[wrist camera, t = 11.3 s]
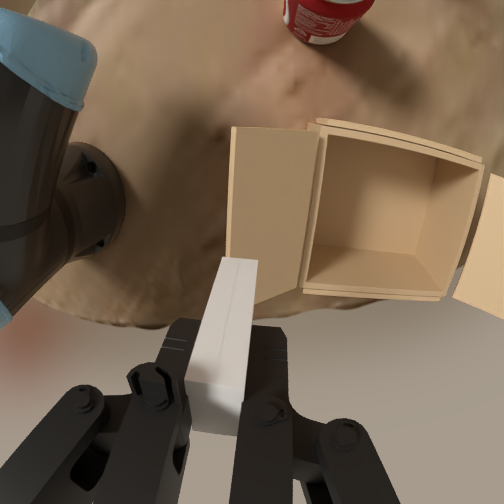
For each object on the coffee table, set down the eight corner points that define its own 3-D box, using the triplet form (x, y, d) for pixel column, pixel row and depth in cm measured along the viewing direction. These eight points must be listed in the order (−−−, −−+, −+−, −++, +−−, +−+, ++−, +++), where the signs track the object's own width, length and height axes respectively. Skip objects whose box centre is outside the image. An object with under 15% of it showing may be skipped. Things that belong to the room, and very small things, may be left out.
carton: (292, 250, 35) (297, 293, 27) (308, 116, 28) (321, 117, 20) (413, 262, 34) (442, 302, 26) (440, 144, 27) (485, 159, 19)
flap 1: (236, 127, 16) (231, 126, 16) (228, 314, 22) (224, 311, 22) (317, 131, 20) (312, 131, 20) (296, 287, 25) (292, 284, 26)
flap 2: (504, 319, 21) (504, 317, 21) (550, 199, 15) (548, 198, 16) (452, 297, 25) (452, 295, 25) (490, 173, 19) (490, 172, 19)
